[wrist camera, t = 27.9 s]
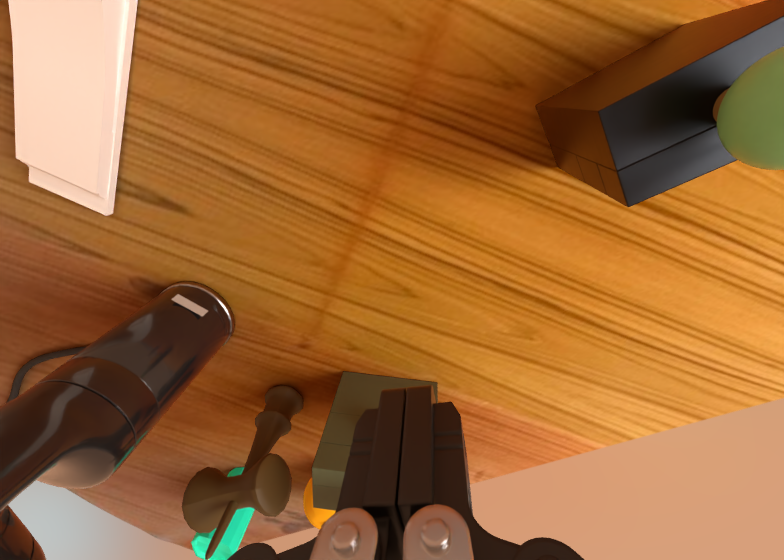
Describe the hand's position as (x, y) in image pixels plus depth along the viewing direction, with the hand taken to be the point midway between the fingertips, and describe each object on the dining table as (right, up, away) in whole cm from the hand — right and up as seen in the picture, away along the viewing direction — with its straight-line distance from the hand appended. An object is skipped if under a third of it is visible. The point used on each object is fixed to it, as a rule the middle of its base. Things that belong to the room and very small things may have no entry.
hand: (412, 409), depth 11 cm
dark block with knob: (+19, +19, +21) cm, 34 cm away
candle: (-24, -28, +49) cm, 61 cm away
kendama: (-15, -12, +40) cm, 44 cm away
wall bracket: (-29, +22, +20) cm, 42 cm away
